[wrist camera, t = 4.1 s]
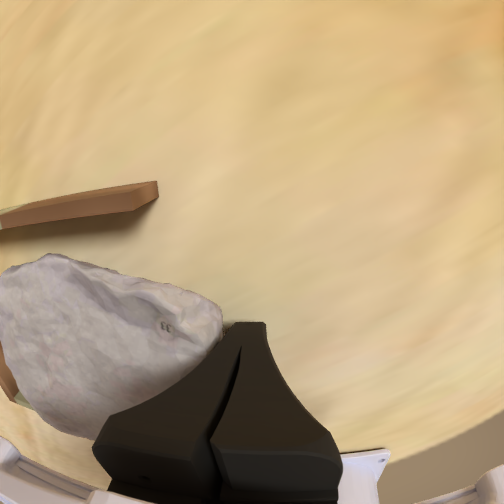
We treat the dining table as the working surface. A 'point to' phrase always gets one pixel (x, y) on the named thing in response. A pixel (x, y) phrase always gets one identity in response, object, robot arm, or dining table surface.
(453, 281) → the dining table surface
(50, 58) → the dining table surface
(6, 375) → the guide slot
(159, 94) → the dining table surface
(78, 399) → the stone block
